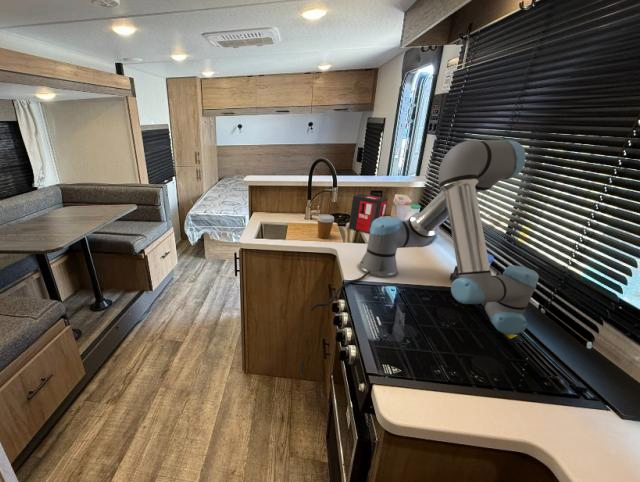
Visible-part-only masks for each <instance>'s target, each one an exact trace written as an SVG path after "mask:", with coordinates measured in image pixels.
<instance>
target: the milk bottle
mask: <svg viewBox="0 0 640 482" xmlns="http://www.w3.org/2000/svg"><path fill="white" fill-rule="evenodd" d="M421 207H422V206H421V205H420V204H416V203H413V204H412V203H411V207H410V212H409V213H408V215H407V216H406V218H405V220H404V221H406V220H408V219H409V218H410V217H411V216H412V215H413V214H415V213H417V212H420V210H421Z"/></svg>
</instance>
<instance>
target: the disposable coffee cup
mask: <svg viewBox="0 0 640 482" xmlns="http://www.w3.org/2000/svg"><path fill="white" fill-rule="evenodd" d="M316 220H317V237H318V238H320V239H322V240H323V239H324V240H326V239H330V237H331V232H332V228H333V225H334V222H335V216H333V215H331V214H325V213H324V214H323V213H322V214H318V215H317V217H316Z"/></svg>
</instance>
